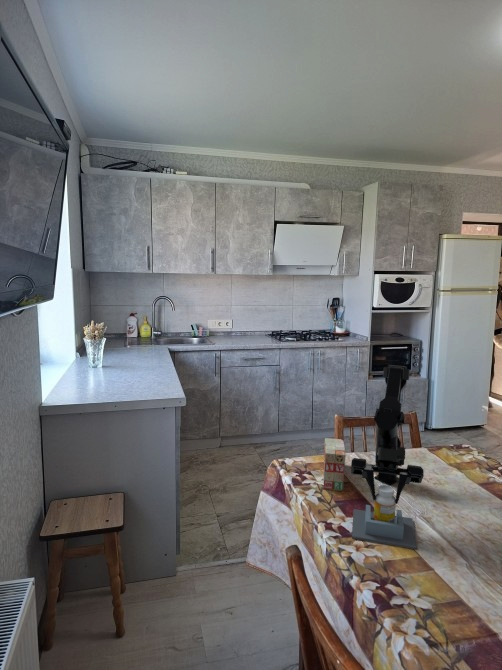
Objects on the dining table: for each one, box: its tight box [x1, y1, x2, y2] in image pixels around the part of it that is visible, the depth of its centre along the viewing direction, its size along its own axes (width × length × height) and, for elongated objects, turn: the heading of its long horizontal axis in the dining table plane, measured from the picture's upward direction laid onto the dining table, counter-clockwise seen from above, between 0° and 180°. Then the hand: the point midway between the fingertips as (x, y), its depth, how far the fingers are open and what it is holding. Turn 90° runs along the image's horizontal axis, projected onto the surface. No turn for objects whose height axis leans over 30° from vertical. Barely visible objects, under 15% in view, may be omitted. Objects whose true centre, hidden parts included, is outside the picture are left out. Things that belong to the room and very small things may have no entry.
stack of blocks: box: [322, 437, 347, 492], centre depth 148 cm, size 21×6×12 cm, turn 171°
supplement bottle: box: [373, 484, 397, 523], centre depth 117 cm, size 5×5×10 cm
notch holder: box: [351, 504, 418, 551], centre depth 117 cm, size 14×16×4 cm
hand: (385, 501), depth 115 cm, fingers closed on supplement bottle, 5 cm apart
